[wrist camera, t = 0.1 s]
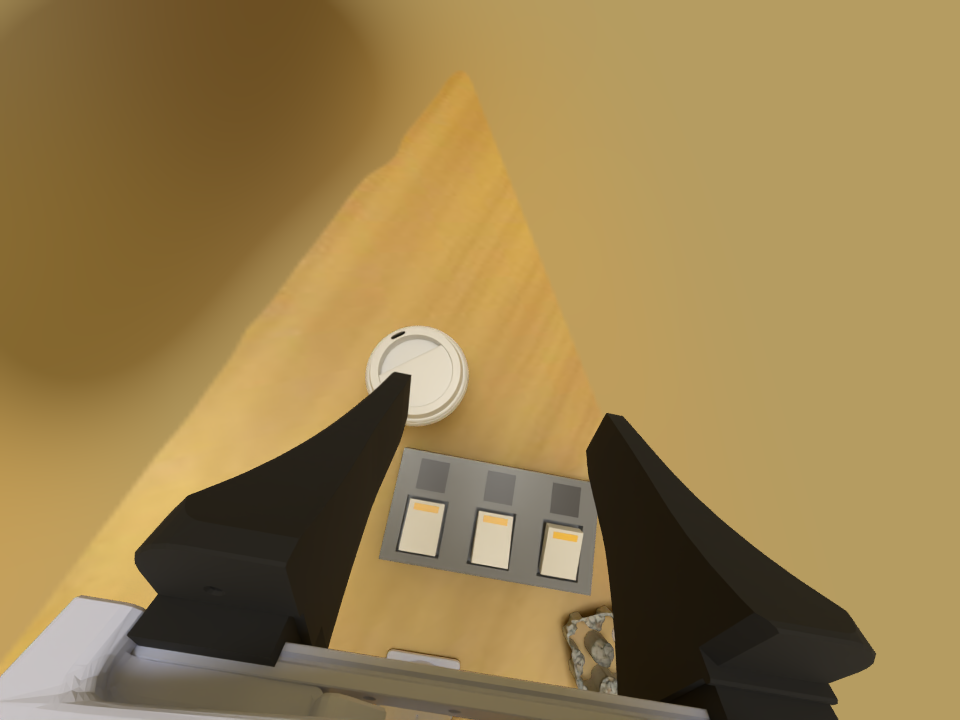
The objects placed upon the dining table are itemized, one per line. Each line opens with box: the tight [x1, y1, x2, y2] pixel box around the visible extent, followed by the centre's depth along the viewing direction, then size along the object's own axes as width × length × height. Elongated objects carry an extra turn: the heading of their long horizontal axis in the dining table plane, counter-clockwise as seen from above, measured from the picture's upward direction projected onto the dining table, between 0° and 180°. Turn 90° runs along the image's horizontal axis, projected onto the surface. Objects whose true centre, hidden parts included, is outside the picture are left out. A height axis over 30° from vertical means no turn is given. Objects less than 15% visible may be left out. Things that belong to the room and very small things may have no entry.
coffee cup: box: [366, 326, 469, 426], centre depth 37 cm, size 10×10×15 cm
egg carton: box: [562, 605, 617, 695], centre depth 37 cm, size 11×8×4 cm
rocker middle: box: [471, 511, 513, 569], centre depth 38 cm, size 5×4×1 cm
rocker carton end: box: [538, 523, 583, 580], centre depth 39 cm, size 5×4×1 cm
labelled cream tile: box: [399, 498, 445, 556], centre depth 38 cm, size 5×4×1 cm
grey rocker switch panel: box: [379, 447, 597, 596], centre depth 40 cm, size 12×24×2 cm, turn 80°
